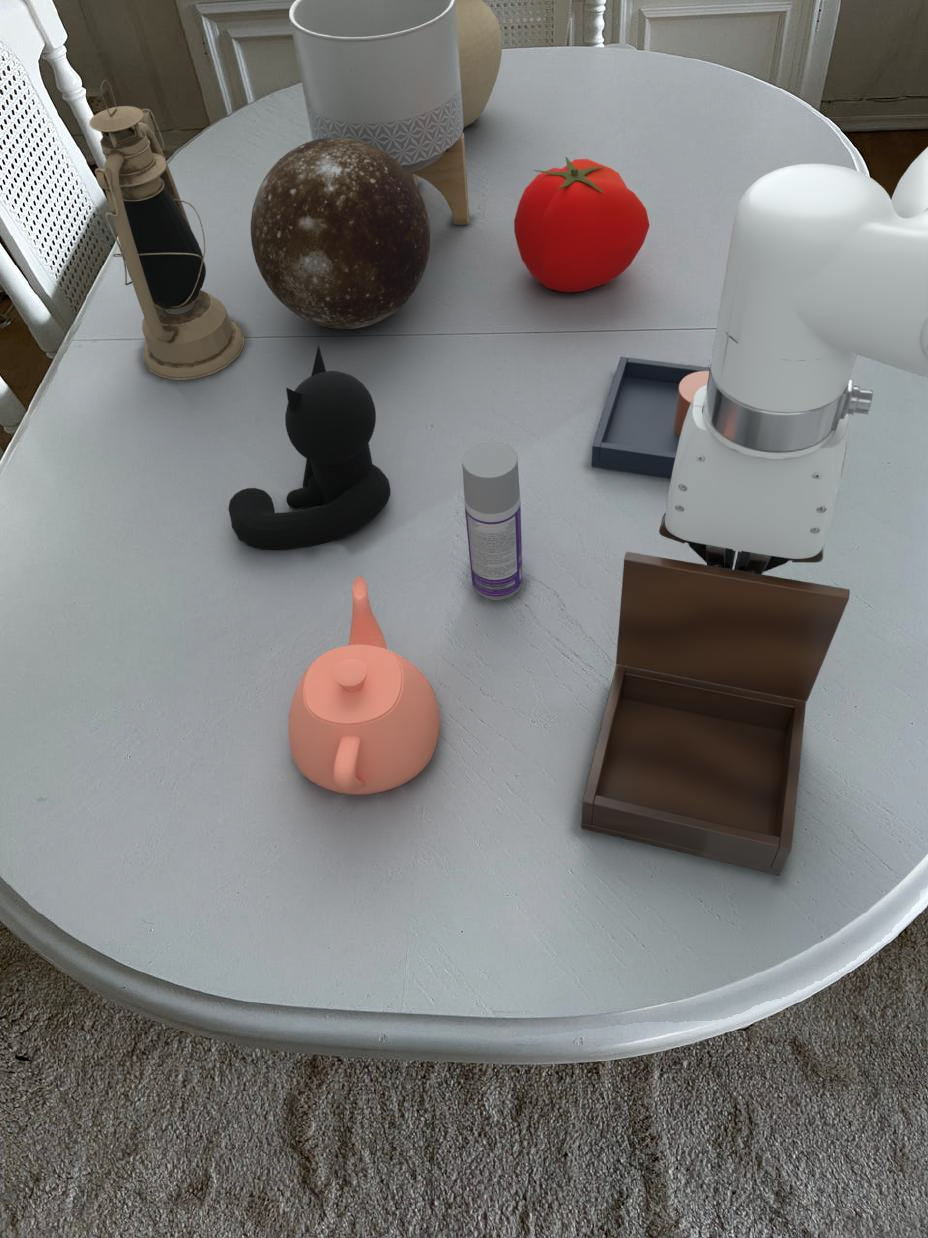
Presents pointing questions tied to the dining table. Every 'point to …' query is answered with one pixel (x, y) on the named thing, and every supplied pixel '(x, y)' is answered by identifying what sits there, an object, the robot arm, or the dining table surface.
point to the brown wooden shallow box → (697, 769)
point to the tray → (641, 418)
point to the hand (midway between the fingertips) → (726, 599)
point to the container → (493, 518)
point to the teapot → (363, 712)
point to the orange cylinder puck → (687, 396)
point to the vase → (477, 55)
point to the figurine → (320, 469)
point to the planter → (388, 83)
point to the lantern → (161, 251)
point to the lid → (726, 625)
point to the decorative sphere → (340, 233)
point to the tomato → (579, 226)
